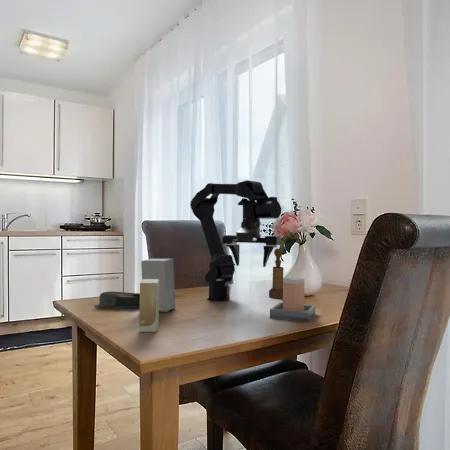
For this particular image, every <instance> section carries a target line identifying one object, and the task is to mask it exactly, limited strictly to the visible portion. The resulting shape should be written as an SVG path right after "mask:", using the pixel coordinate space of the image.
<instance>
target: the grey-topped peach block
mask: <svg viewBox="0 0 450 450" xmlns="http://www.w3.org/2000/svg"><path fill="white" fill-rule="evenodd" d="M282 303H283V310H289V311H300V312H304V305H305V278H303V277H296V276H295V277H294V276H290V277H283V298H282Z"/></svg>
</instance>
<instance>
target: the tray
mask: <svg viewBox="0 0 450 450" xmlns="http://www.w3.org/2000/svg"><path fill="white" fill-rule="evenodd" d="M315 315H316V305H314V304H313V305H311V304H304V312H300V311H289V310H283V302H282V301H281V302H278V303H277V304H275V305H274V306H273V307H271V308H270V309H269V318H270V319H276V320H285V321H296V322H305V323H309V322H310V321H312V318H313V317H314V316H315Z"/></svg>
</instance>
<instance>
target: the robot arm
mask: <svg viewBox="0 0 450 450" xmlns="http://www.w3.org/2000/svg"><path fill="white" fill-rule="evenodd" d="M210 195H211V196H210ZM220 195H235V196H237V197H241V200H240V201H238V203H237V205H238V206H242V221H241V223H240V227H239V228H238V229H236V231H235V235H234V234H227V235H226V234H224V235H223V236H222V237H220V234H219V231H218V229H217V225H216V222H215V219H214V214H215V211H216V210H215V205H216V204H217V203H218V199H219V196H220ZM209 196H210V197H209ZM189 207H190V209H191V211H192V213H193V215H194V216H195V217H196V219H198V220H199V222H200V225H201V229H202V231H203V234H204V238H205V241H206V243H207V247H208V250H209V254H210V261H209V270H208V271H207V273H206V274H205V275H204V281H205V282H206V283H208V297H206V300H209V301H219V302H220V301H221V302H225V301H227V300H228V299H230V298H231V297H230V288H231V287H230V285H229V282H232V280H233V278H234V274H235V272H236V268H235V266H236V267H238V266H240V244H238V243H246V244H247V243H248V244H254V243H255V244H265V245H263V260H262V265H263V266H262V267H263V268H266V266H267V263H268V261H269V258H270V256H271V254H272V252H273V249H274V248H277V247H278V246H279V245H281V244H282V243H281V242H282V241H281V239H282V238H281V237H280V235H265V236H264V237H261V236H262V234H260V233H261V225H262V224H261V220H268V219H278V218H280V216H281V214H282V206H281V203H280V202H279V201H278V197H277V196H268V194H267V193H266V191H265V189H264V186H263V184H262V183H261V182H260V181H255V180H248V179H247V180H245V179H244V180H241V181H240V180H239V181H238V182H236V183H216V182H215V183H214V182H209V183H207V184H206V185H205V187H203V188H202V189H201V190H199V191H198V192H196V194H195V195H194V196H193V197H192V199H191V200H190V205H189ZM224 244H225V246H226V247H228V248H229V250H230V251H231V253H232V255H231V254H227V253H226V252H225V249H224V248H223V247H224V246H223V245H224ZM233 259H234V260H233Z"/></svg>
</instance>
